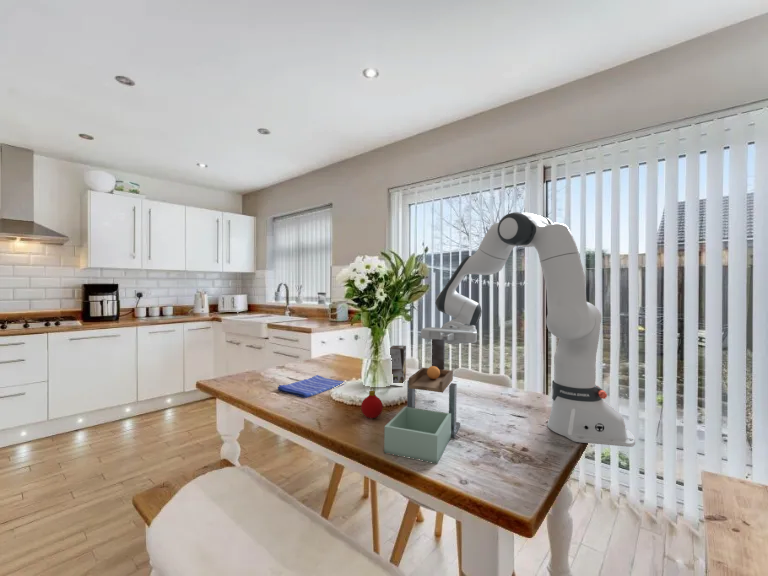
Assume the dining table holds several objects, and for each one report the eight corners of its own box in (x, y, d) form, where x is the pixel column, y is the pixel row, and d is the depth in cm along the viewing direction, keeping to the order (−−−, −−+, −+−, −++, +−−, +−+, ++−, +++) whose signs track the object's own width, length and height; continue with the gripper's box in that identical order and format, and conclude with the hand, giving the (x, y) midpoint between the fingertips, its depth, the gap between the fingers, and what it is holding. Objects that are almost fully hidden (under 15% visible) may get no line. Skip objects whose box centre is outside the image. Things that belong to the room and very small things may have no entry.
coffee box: (403, 387, 150) (403, 349, 150) (388, 386, 151) (388, 348, 151) (406, 381, 159) (406, 345, 159) (392, 380, 160) (392, 344, 160)
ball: (441, 378, 111) (441, 365, 111) (438, 381, 107) (438, 368, 107) (428, 376, 112) (429, 364, 112) (425, 379, 109) (425, 366, 109)
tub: (450, 437, 101) (451, 413, 101) (437, 464, 87) (437, 435, 86) (404, 429, 107) (405, 406, 107) (384, 453, 92) (384, 426, 92)
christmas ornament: (373, 423, 111) (373, 392, 111) (356, 418, 115) (356, 387, 115) (387, 417, 117) (387, 387, 116) (370, 412, 121) (371, 383, 121)
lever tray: (453, 379, 114) (453, 340, 113) (442, 392, 100) (442, 348, 99) (423, 375, 117) (423, 338, 117) (408, 388, 103) (409, 345, 103)
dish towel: (275, 392, 144) (275, 385, 144) (317, 379, 163) (317, 372, 163) (305, 400, 134) (305, 392, 134) (345, 385, 154) (345, 378, 154)
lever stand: (460, 426, 109) (460, 381, 109) (454, 438, 101) (454, 389, 101) (411, 418, 115) (411, 375, 115) (401, 429, 107) (402, 383, 107)
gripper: (426, 322, 139) (415, 326, 127) (479, 325, 131) (473, 330, 119) (426, 338, 140) (415, 344, 127) (479, 342, 132) (473, 349, 119)
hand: (444, 337), depth 123 cm, fingers closed
